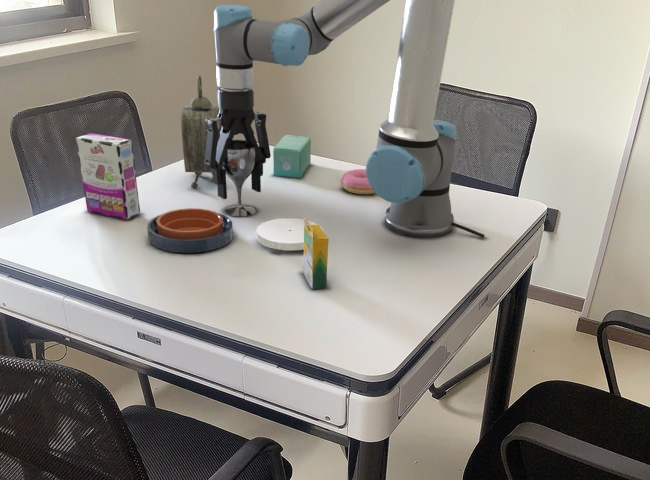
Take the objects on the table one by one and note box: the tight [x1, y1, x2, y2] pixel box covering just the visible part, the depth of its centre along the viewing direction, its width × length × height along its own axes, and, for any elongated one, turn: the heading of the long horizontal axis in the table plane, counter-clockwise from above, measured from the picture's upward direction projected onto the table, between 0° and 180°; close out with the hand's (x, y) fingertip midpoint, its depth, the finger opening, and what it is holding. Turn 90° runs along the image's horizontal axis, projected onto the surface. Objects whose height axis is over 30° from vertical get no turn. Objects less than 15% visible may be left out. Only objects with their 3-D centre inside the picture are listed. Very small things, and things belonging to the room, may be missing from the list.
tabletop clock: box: [180, 75, 222, 189], centre depth 176 cm, size 14×9×25 cm, turn 6°
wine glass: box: [222, 139, 257, 218], centre depth 162 cm, size 8×8×15 cm
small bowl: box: [156, 207, 224, 239], centre depth 151 cm, size 13×13×4 cm
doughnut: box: [340, 168, 376, 195], centre depth 182 cm, size 11×11×4 cm
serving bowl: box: [146, 212, 234, 254], centre depth 151 cm, size 17×17×3 cm
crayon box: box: [302, 216, 329, 290], centre depth 134 cm, size 7×3×12 cm, turn 17°
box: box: [272, 134, 312, 179], centre depth 192 cm, size 7×14×8 cm, turn 171°
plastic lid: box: [255, 217, 325, 252], centre depth 152 cm, size 14×14×2 cm
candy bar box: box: [75, 132, 141, 220], centre depth 157 cm, size 11×5×16 cm, turn 68°
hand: (239, 193), depth 164 cm, fingers open, 8 cm apart
